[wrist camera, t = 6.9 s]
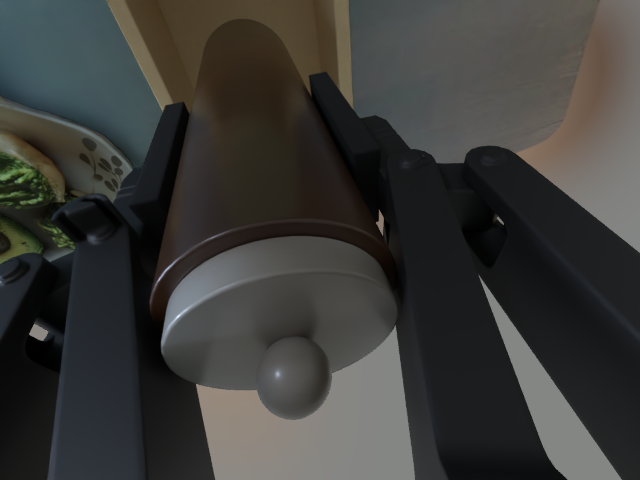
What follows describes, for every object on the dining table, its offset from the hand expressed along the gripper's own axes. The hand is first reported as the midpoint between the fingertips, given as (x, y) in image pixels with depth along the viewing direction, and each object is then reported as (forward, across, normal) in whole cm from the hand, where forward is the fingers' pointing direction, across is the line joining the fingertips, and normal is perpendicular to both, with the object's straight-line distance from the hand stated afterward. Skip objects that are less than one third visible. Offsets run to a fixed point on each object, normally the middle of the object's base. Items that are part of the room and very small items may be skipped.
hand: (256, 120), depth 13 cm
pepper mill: (+7, 0, 0) cm, 7 cm away
